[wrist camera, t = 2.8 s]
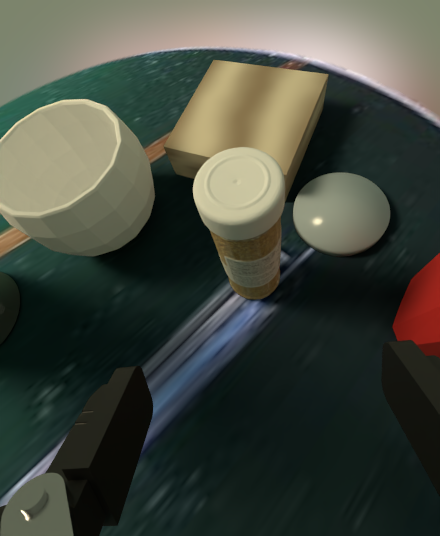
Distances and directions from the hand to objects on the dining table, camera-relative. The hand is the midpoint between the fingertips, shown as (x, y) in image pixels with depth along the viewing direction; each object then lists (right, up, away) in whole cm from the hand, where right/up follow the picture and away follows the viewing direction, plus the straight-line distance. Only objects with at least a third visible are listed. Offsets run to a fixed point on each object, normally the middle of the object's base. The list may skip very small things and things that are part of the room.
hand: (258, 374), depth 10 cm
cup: (-12, +9, +22) cm, 26 cm away
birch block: (+2, +17, +22) cm, 28 cm away
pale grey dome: (+9, +8, +17) cm, 22 cm away
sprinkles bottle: (+2, +3, +17) cm, 17 cm away
